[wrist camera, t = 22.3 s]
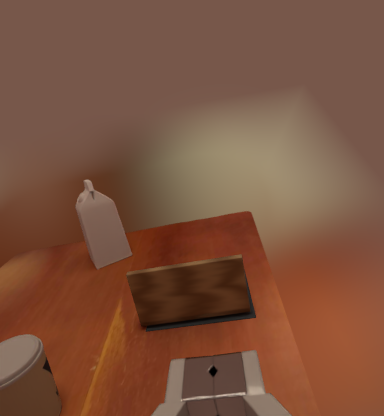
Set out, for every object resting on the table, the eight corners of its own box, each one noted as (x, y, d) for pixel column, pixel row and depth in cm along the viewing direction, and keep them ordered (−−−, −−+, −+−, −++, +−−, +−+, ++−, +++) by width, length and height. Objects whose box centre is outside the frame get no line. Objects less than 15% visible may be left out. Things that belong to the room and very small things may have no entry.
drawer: (241, 276, 69) (234, 228, 65) (251, 314, 56) (242, 257, 52) (153, 289, 71) (141, 243, 67) (142, 329, 58) (126, 275, 54)
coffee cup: (80, 400, 45) (54, 339, 41) (25, 465, 37) (-13, 397, 34) (43, 384, 49) (16, 327, 46) (-13, 439, 42) (-50, 377, 38)
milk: (132, 255, 92) (110, 177, 84) (97, 269, 88) (70, 188, 80) (122, 244, 103) (101, 174, 95) (90, 256, 98) (65, 183, 90)
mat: (244, 269, 72) (244, 268, 72) (256, 318, 55) (256, 317, 55) (159, 281, 74) (159, 281, 74) (145, 332, 57) (145, 331, 57)
